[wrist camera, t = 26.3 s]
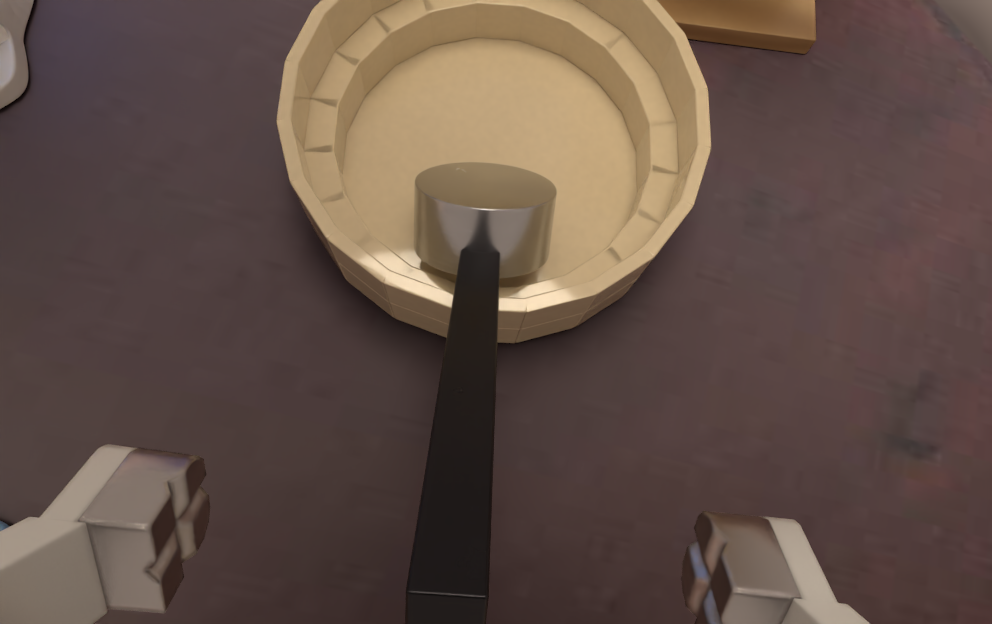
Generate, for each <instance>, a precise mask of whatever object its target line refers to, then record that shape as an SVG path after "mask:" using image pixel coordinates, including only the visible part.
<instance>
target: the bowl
mask: <svg viewBox="0 0 992 624" xmlns="http://www.w3.org/2000/svg"><path fill="white" fill-rule="evenodd" d="M276 120H277V121H276V123H277V127H278V131H279V136H280V140H281V145H282V149H283V154H284V158H285V163H286V167H287V172H288V176H289V181H290V183H291V185H292V187H293V189H294V191H295V193H296V195H297V197H298V199H299V201H300V203H301V205H302V207H303V209H304V211H305V213H306V215H307V217H308V219H309V221H310V223H311V225H312V227H313V229H314V230H315V232H316V234H317V236H318V237H319V239H320V240H321V242H322V243H323V245H324V247H325V248H326V250H327V251H328V253H329V254H330V256H331V257H332V259H333V261H334V262H335V264H336V265H337V267H338V268H339V270H340V271H341V273H342V275H343V276H344V278H345V279H346V280H347V281H348V282H349V283H350V284H352V285H353V286H354V287H355V288H357V289H358V290H359V291H360V292H362V293H363V294H364V295H365V296H367V297H368V298H369V299H370V300H372V301H373V302H374V303H375V304H377V305H378V306H379V307H381V308H382V309H383V310H384V311H386V312H387V313H388V314H389V315H391V316H392V317H394V318H395V319H397V320H400V321H403V322H405V323H408V324H411V325H414V326H416V327H419V328H422V329H424V330H427V331H430V332H432V333H435V334H438V335H440V336H443V337H446V338H447V332H448V326H449V319H450V313H451V307H452V301H453V295H454V288H455V282H456V276H457V275H455V274H451V273H448V272H444V271H441V270H439V269H436V268H434V267H432V266H430V265H428V264H427V263H425V262H424V261H422V260H421V259H420V258H419V257H418V256H417V254H416V252H415V250H414V246H413V243H414V189H415V178H416V177H417V175H418V174H419V173H421V172H422V171H424V170H426V169H428V168H431V167H434V166H438V165H443V164H450V163H461V162H482V163H495V164H502V165H508V166H514V167H518V168H522V169H525V170H529V171H532V172H534V173H537V174H539V175H541V176H543V177H545V178H547V179H548V180H550V181H551V182H552V183H553V184H554V185H555V187H556V190H557V195H556V203H555V211H554V219H553V227H552V235H551V243H550V251H549V257H548V260H547V261H546V263H545V264H544V265H543V266H542V267H540V268H539V269H537V270H535V271H533V272H531V273H528V274H525V275H521V276H516V277H510V278H500V283H499V312H498V340H497V342H501V343H515V342H517V343H518V342H522V341H526V340H529V339H533V338H537V337H541V336H544V335H548V334H552V333H556V332H559V331H563V330H567V329H571V328H574V327H576V326H578V325H580V324H581V323H583V322H584V321H586V320H587V319H589V318H590V317H592V316H593V315H595V314H596V313H598V312H599V311H601V310H602V309H604V308H606V307H607V306H609V305H610V304H612V303H613V302H615V301H616V300H618V299H619V298H621V297H622V296H623V295H625V294H626V292H627V291H628V290H629V289H630V287H631V286H632V285H633V284H634V282H635V281H636V280H637V279H638V277H639V276H640V275H641V274H642V272H643V271H644V270H645V269H646V267H647V266H648V265H649V264H650V262H651V261H652V260H653V259H654V257H655V256H656V255H657V254H658V252H659V251H660V250H661V248H662V247H663V246H664V244H665V243H666V242H667V241H668V239H669V238H670V237H671V235H672V234H673V233H674V231H675V230H676V229H677V227H678V226H679V225H680V224H681V222H682V221H683V220H684V218H685V217H686V216H687V214H688V213H689V212H690V211H691V209H692V207H693V206H694V203H695V200H696V197H697V193H698V190H699V187H700V184H701V180H702V177H703V174H704V171H705V167H706V164H707V161H708V158H709V154H710V151H711V135H710V117H709V99H708V87H707V85H706V82H705V80H704V78H703V75H702V73H701V70H700V68H699V66H698V63H697V61H696V58H695V56H694V53H693V51H692V49H691V46H690V44H689V41H688V39H687V37H686V35H685V33H684V32H683V30H682V29H681V28H680V27H679V26H678V25H677V23H676V22H675V21H674V20H673V19H672V17H671V16H670V15H669V14H668V13H667V11H666V10H665V9H664V8H663V7H662V6H661V4H660V3H659V2H658V1H657V0H321V1H320V2H319V3H318V4H317V5H316V6H315V7H314V8H313V9H312V11H311V13H310V15H309V17H308V19H307V21H306V22H305V24H304V26H303V28H302V30H301V32H300V34H299V35H298V37H297V39H296V41H295V43H294V45H293V46H292V48H291V50H290V52H289V54H288V56H287V58H286V61H285V63H284V70H283V77H282V84H281V91H280V98H279V105H278V112H277V119H276Z"/></svg>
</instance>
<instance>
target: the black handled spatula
mask: <svg viewBox="0 0 992 624" xmlns="http://www.w3.org/2000/svg"><path fill="white" fill-rule="evenodd" d="M556 195H557V190H556V187H555V185H554V184H553V183H552V182H551V181H550V180H548V179H547V178H545V177H543V176H541V175H539V174H537V173H534V172H532V171H529V170H525V169H522V168H518V167H514V166H508V165H502V164H495V163H482V162H461V163H450V164H443V165H438V166H434V167H431V168H428V169H426V170H424V171H422V172H421V173H419V174H418V175H417V177H416V178H415V189H414V243H413V246H414V250H415V252H416V254H417V256H418V257H419V258H420V259H421V260H422V261H424V262H425V263H427V264H428V265H430V266H432V267H434V268H436V269H439V270H441V271H444V272H448V273H451V274H455V275H457V276H456V282H455V288H454V295H453V301H452V307H451V313H450V319H449V326H448V332H447V338H446V344H445V351H444V357H443V363H442V369H441V375H440V382H439V388H438V394H437V400H436V407H435V413H434V419H433V425H432V432H431V438H430V444H429V450H428V456H427V463H426V469H425V475H424V481H423V488H422V494H421V500H420V506H419V512H418V519H417V525H416V531H415V537H414V544H413V550H412V556H411V562H410V568H409V575H408V581H407V587H406V610H405V624H486V616H487V606H488V597H489V568H490V540H491V511H492V483H493V454H494V426H495V397H496V369H497V340H498V312H499V283H500V278H510V277H516V276H521V275H525V274H528V273H531V272H533V271H535V270H537V269H539V268H540V267H542V266H543V265H544V264H545V263H546V261H547V260H548V257H549V251H550V243H551V235H552V227H553V219H554V211H555V203H556Z"/></svg>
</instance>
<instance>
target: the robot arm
mask: <svg viewBox="0 0 992 624" xmlns="http://www.w3.org/2000/svg"><path fill="white" fill-rule="evenodd" d="M33 2H34V0H0V109H1V108H3V107H5V106H6V105H8V104H10V103H11V102H13V101H14V100H16V99H17V98H19V97H20V96H21V95H22V94H23V92H24V91H25V89H26V87H27V84H28V78H29V72H28V62H27V57H26V51H25V47H24V42H23V40H24V33H25V29H26V25H27V22H28V19H29V15H30V12H31V9H32V6H33ZM205 476H206V470H205V464H204V459H203V458H201V457H200V456H197V455H190V454H182V453H175V452H167V451H160V450H152V449H145V448H132V447H125V446H118V445H110V444H106V445H104V446H102V447H100V448H98V449H97V450H96V451H95V452H94V453H93V455H92V456H91V457H90V458H89V459H88V460H87V462H86V463H85V464H84V465H83V466H82V468H81V469H80V470H79V471H78V472H77V474H76V475H75V476H74V477H73V478H72V479H71V481H70V482H69V483H68V484H67V485H66V487H65V488H64V489H63V490H62V491H61V492H60V494H59V495H58V496H57V497H56V498H55V500H54V501H53V502H52V503H51V504H50V506H49V507H48V508H47V509H46V510H45V511H44V513H43V514H42V515H41V516H40V517H39V518H37V517H28V518H26V519H24V520H22V521H20V522H18V523H16V524H14V525H12V526H10V527H8V528H6V529H4V530H2V531H0V624H93V623H94V622H96V621H97V620H98V619H99V618H101V617H102V616H103V615H105V614H106V613H107V609H116V610H129V611H142V612H156V613H165V611H166V609H167V608H168V606H169V604H170V602H171V600H172V598H173V596H174V595H175V593H176V591H177V589H178V587H179V585H180V583H181V582H182V580H183V578H184V574H183V567H182V563H183V562H184V561H186V560H188V559H189V558H191V557H192V556H194V555H195V554H196V553H197V551H198V549H199V547H200V545H201V543H202V541H203V539H204V537H205V533H206V530H207V526H208V523H209V515H210V501H209V495H208V494H207V493H206V492H205V491H204V489H203V488H202V487H201V486H200V485H201V483H202V481H203V479H204V478H205ZM694 529H695V533H696V537H697V541H695V542H694V543H692V544H691V545H689V546H688V547H687V549H686V553H685V556H684V559H683V564H682V576H681V580H682V591H683V596H684V600H685V605H686V607H687V608H688V609H689V610H690V611H691V612H692V613H693V614H694V615H695V616H696V617H697V618H696V621H695V623H694V624H870V623H869V622H868V621H866V620H865V619H864V618H863V617H862V616H860V615H859V614H858V613H857V612H856V611H855V610H853V609H852V608H851V607H850V606H849V605H847V604H841V603H838V602H837V600H836V598H835V596H834V594H833V592H832V590H831V588H830V586H829V584H828V582H827V580H826V577H825V575H824V573H823V571H822V569H821V567H820V565H819V563H818V561H817V559H816V557H815V555H814V553H813V551H812V549H811V546H810V544H809V542H808V540H807V538H806V536H805V534H804V532H803V530H802V528H801V526H800V524H799V523H798V522H796V521H795V520H794V519H783V518H773V517H760V516H750V515H740V514H730V513H720V512H710V511H702V513H701V514H700V515H699V516H698V518H697V521H696V524H695V526H694Z"/></svg>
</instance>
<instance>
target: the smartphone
mask: <svg viewBox="0 0 992 624" xmlns="http://www.w3.org/2000/svg"><path fill="white" fill-rule="evenodd" d="M8 527H10V526H9V525H7V524H6V523H4V522H2V521H0V531H2V530H4V529H6V528H8Z"/></svg>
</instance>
